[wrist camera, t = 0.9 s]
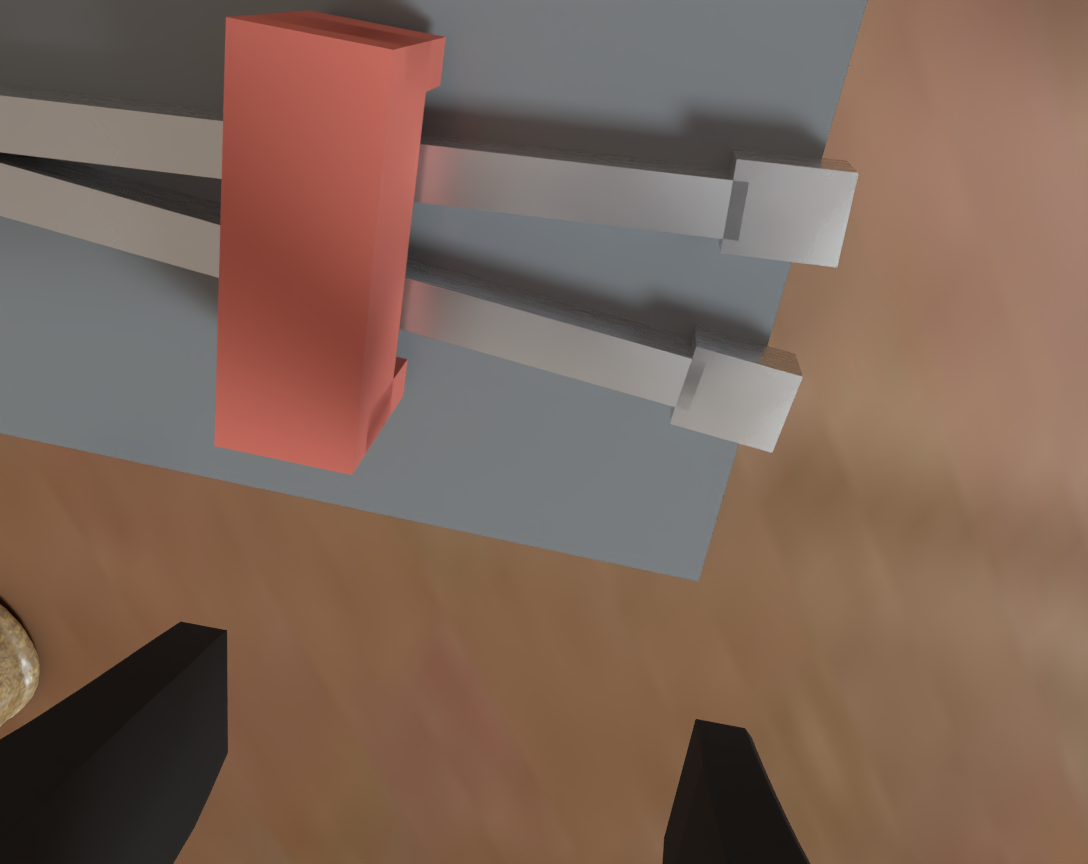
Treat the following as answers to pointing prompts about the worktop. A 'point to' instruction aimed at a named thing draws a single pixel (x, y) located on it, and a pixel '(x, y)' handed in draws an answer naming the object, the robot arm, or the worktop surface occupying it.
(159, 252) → the tongs
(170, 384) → the slate board
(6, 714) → the sprinkles bottle
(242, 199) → the red block
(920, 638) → the worktop surface
